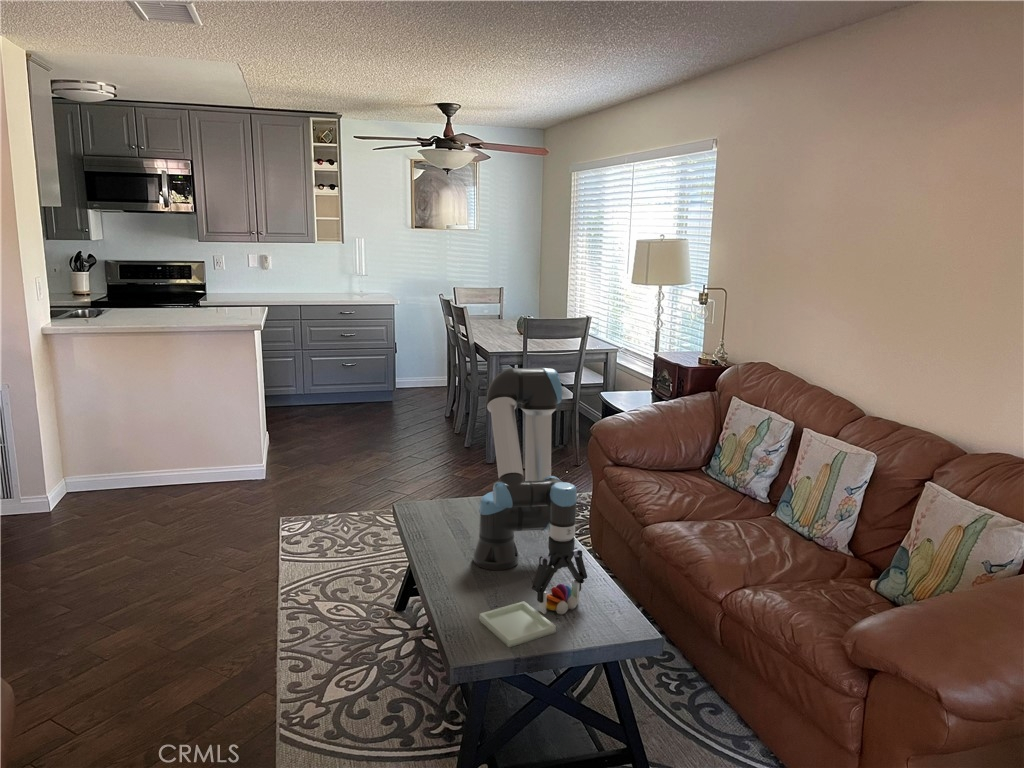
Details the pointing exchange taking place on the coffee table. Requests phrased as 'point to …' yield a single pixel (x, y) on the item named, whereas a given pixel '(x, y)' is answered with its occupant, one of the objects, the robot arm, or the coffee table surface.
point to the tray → (517, 623)
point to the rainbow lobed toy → (561, 599)
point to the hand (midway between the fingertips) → (558, 606)
